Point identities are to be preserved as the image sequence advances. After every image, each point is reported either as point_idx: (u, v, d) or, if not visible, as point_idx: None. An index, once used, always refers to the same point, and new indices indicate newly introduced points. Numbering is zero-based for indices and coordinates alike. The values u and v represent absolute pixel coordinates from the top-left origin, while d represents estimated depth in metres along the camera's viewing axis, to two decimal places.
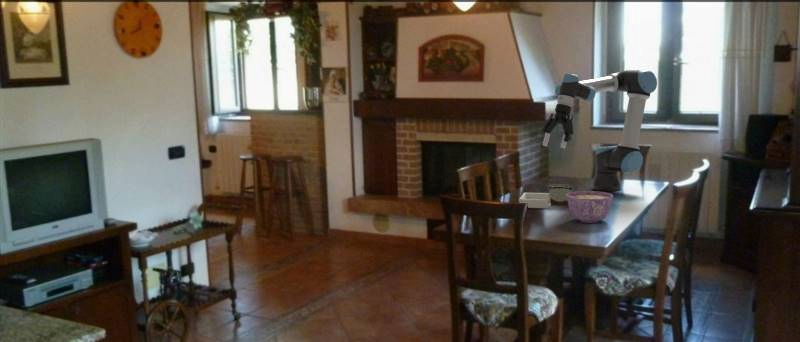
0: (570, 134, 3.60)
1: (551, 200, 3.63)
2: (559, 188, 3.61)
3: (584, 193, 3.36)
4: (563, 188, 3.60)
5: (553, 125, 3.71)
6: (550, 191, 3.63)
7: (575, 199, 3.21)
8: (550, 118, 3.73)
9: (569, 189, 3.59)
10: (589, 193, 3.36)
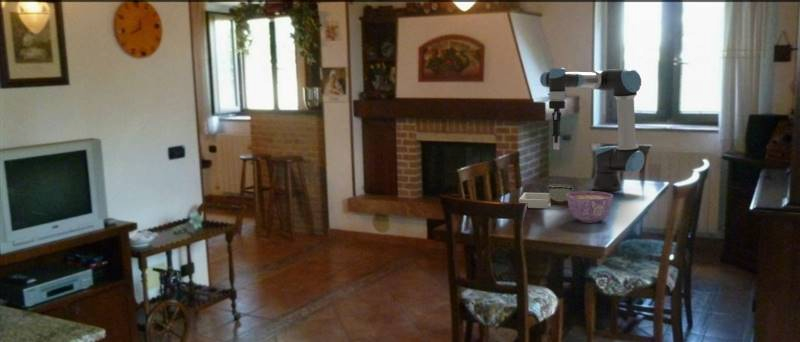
0: (556, 135, 3.57)
1: (551, 200, 3.63)
2: (559, 188, 3.61)
3: (584, 193, 3.36)
4: (563, 188, 3.60)
5: None
6: (550, 191, 3.63)
7: (575, 199, 3.21)
8: None
9: (569, 189, 3.59)
10: (589, 193, 3.36)
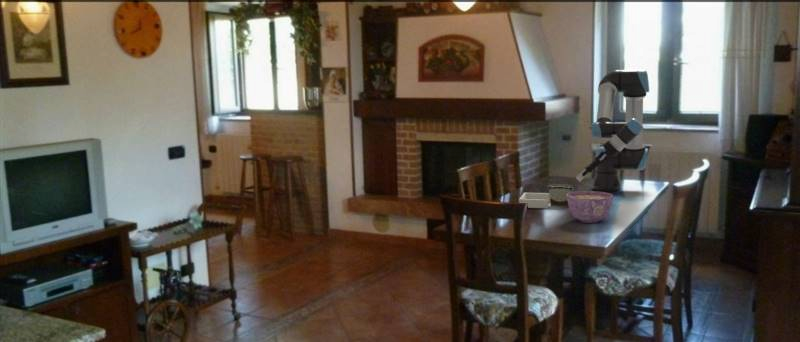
0: (589, 171, 3.56)
1: (551, 200, 3.63)
2: (559, 188, 3.61)
3: (584, 193, 3.36)
4: (563, 188, 3.60)
5: None
6: (550, 191, 3.63)
7: (575, 199, 3.21)
8: None
9: (569, 189, 3.59)
10: (589, 193, 3.36)
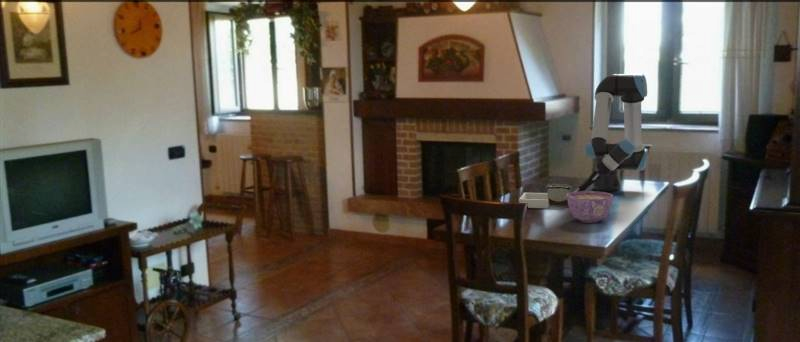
0: (582, 190, 3.58)
1: (549, 200, 3.63)
2: (557, 188, 3.61)
3: (584, 193, 3.36)
4: (561, 188, 3.60)
5: None
6: (548, 191, 3.63)
7: (575, 199, 3.21)
8: None
9: (567, 189, 3.59)
10: (589, 193, 3.36)
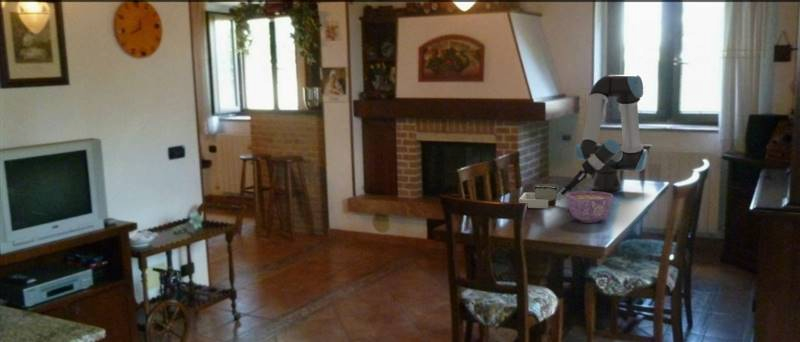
0: (568, 190, 3.60)
1: None
2: (544, 188, 3.62)
3: (584, 193, 3.36)
4: (548, 188, 3.61)
5: None
6: (536, 191, 3.64)
7: (575, 199, 3.21)
8: None
9: (554, 189, 3.60)
10: (589, 193, 3.36)
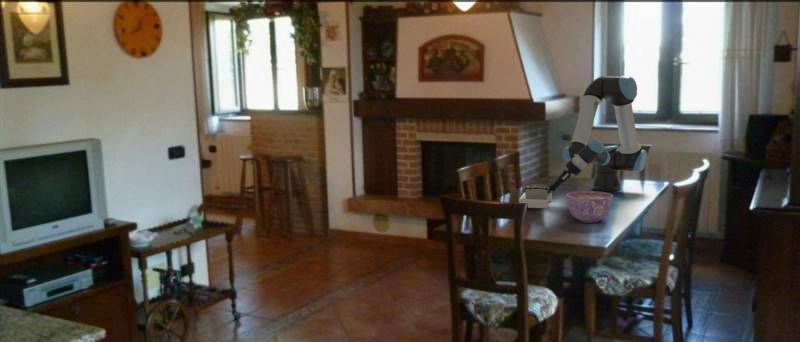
0: (552, 189, 3.62)
1: None
2: (535, 188, 3.62)
3: (584, 193, 3.36)
4: (539, 188, 3.61)
5: None
6: (526, 191, 3.63)
7: (575, 199, 3.21)
8: None
9: (545, 189, 3.60)
10: (589, 193, 3.36)
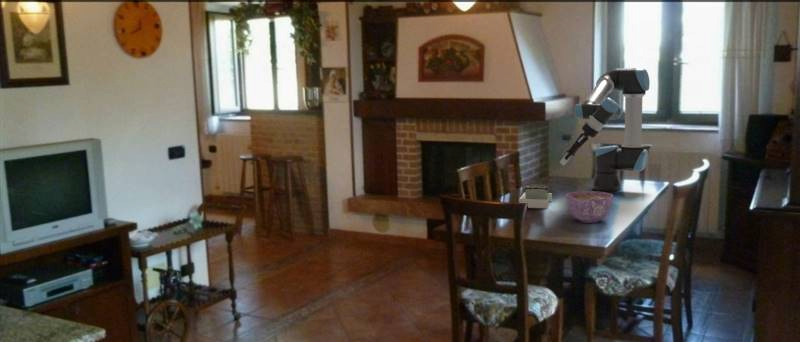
0: (570, 154, 3.61)
1: None
2: (535, 188, 3.62)
3: (584, 193, 3.36)
4: (539, 188, 3.61)
5: None
6: (526, 191, 3.63)
7: (575, 199, 3.21)
8: None
9: (545, 189, 3.60)
10: (589, 193, 3.36)
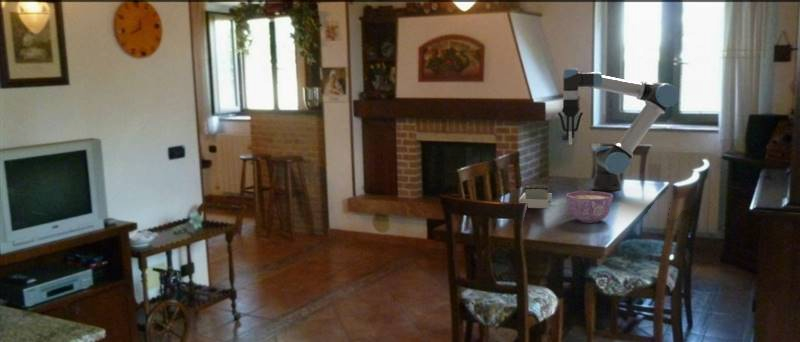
0: (564, 130, 3.88)
1: None
2: (535, 188, 3.62)
3: (584, 193, 3.36)
4: (539, 188, 3.61)
5: None
6: (526, 191, 3.63)
7: (575, 199, 3.21)
8: None
9: (545, 189, 3.60)
10: (589, 193, 3.36)
